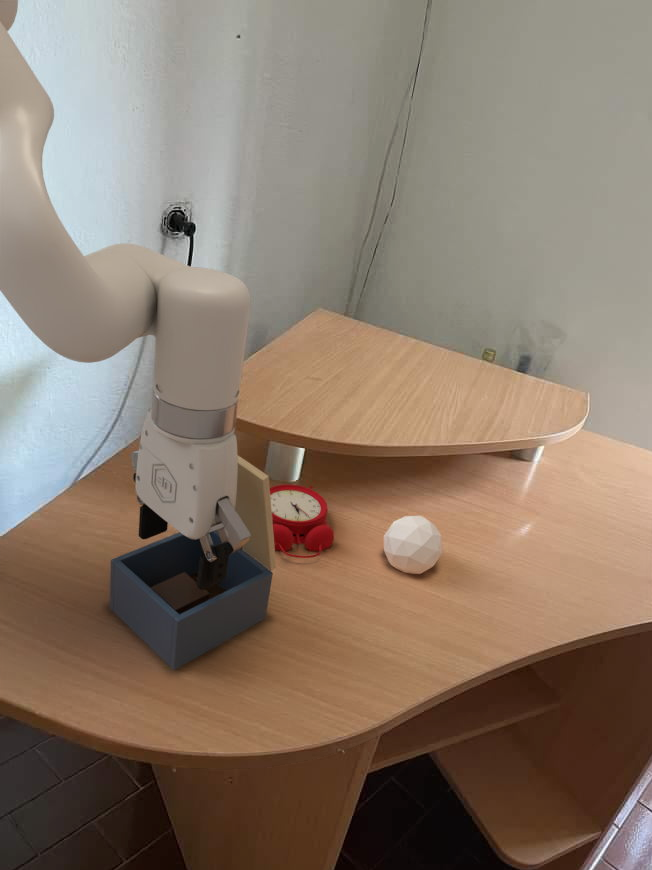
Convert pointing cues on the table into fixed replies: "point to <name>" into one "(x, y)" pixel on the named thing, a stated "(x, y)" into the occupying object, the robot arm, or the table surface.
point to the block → (181, 593)
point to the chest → (200, 625)
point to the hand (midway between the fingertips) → (181, 558)
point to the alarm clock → (299, 519)
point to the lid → (256, 512)
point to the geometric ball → (412, 544)
